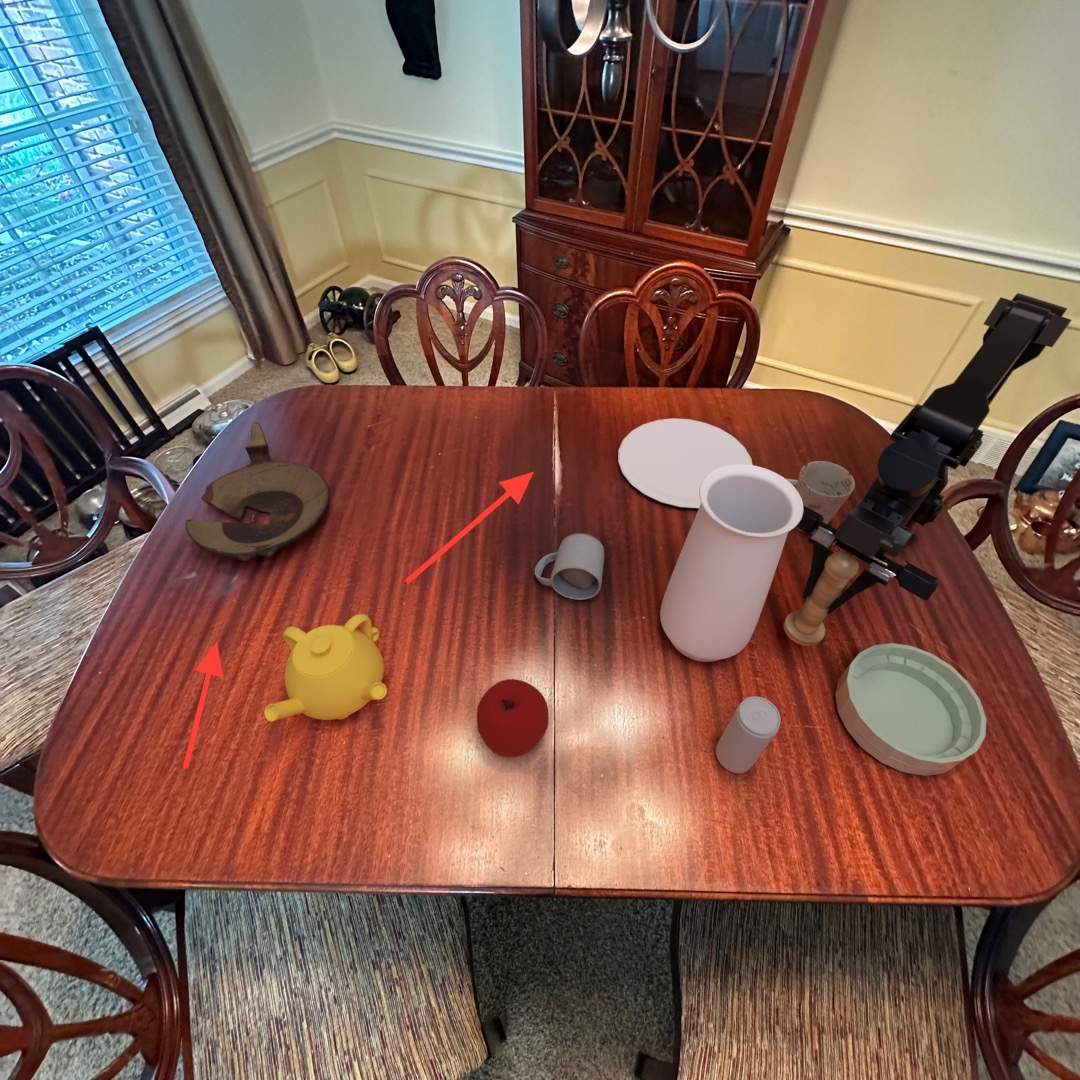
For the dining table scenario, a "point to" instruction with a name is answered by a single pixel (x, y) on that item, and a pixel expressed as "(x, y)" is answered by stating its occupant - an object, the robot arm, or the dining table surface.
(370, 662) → the teapot
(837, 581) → the wooden pestle
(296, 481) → the oil lamp
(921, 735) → the bowl
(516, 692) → the apple
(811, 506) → the mug
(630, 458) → the plate
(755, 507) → the vase
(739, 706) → the beverage can
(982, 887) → the dining table surface
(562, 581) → the ceramic mug
